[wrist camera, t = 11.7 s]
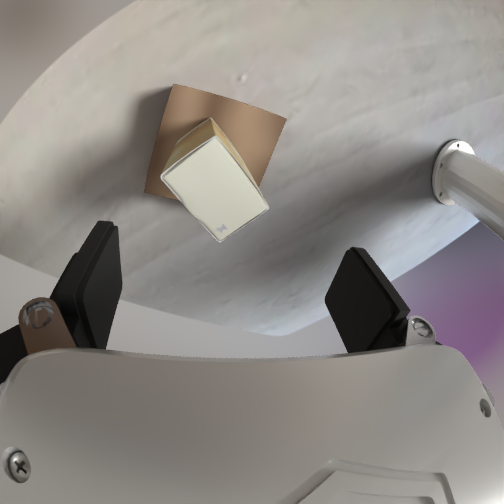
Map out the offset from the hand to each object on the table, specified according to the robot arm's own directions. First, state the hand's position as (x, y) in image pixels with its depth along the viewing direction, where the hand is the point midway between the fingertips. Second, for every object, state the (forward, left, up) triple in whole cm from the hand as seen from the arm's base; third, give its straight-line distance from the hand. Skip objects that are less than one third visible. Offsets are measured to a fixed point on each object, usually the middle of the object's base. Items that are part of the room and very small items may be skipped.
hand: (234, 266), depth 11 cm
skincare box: (+1, 0, -20) cm, 20 cm away
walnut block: (0, 0, -24) cm, 24 cm away
